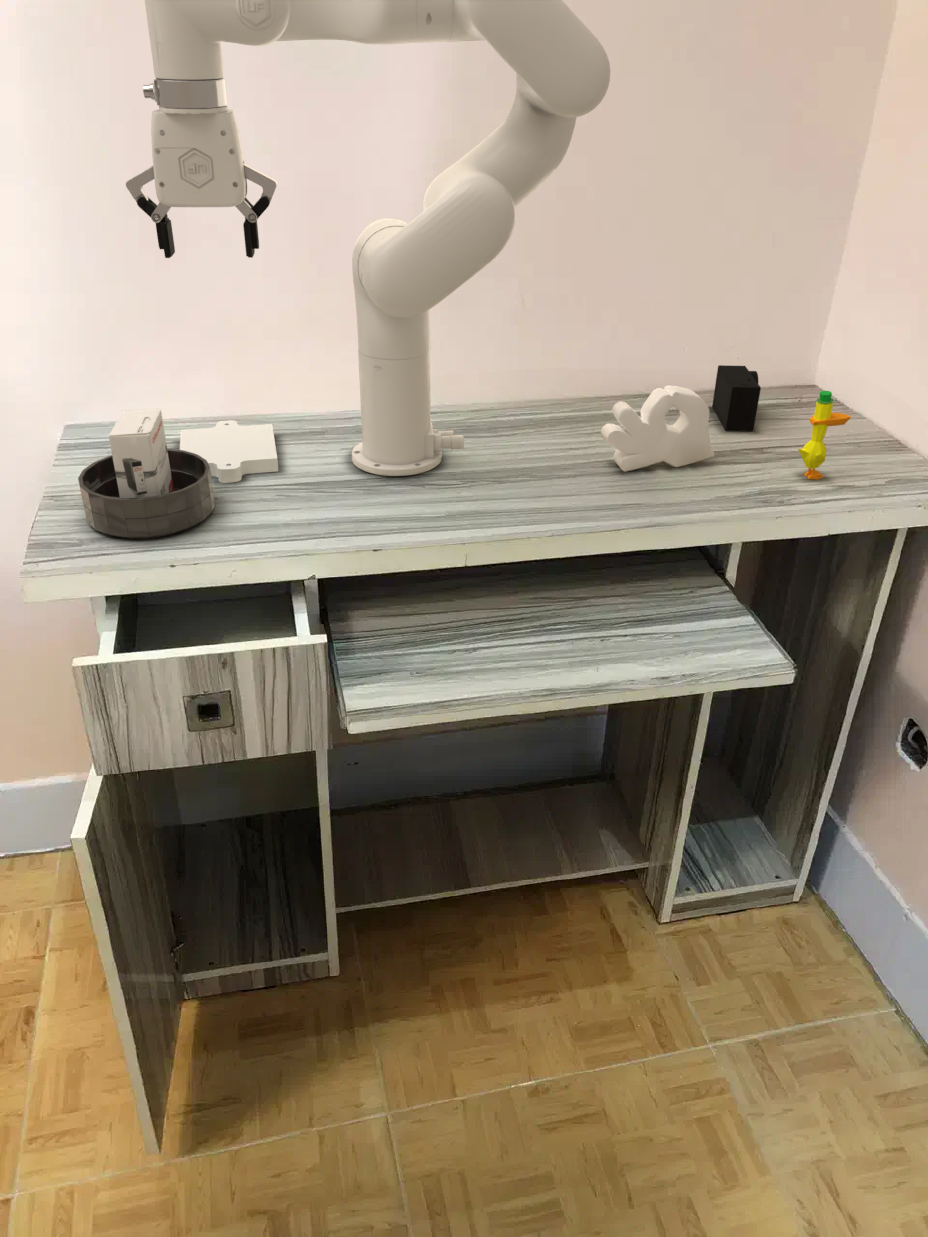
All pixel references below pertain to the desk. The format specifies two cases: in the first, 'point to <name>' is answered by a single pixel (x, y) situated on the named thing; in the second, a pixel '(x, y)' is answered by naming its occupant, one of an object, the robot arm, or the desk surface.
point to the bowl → (148, 499)
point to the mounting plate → (233, 449)
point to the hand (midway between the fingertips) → (210, 255)
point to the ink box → (141, 454)
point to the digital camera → (736, 397)
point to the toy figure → (820, 434)
